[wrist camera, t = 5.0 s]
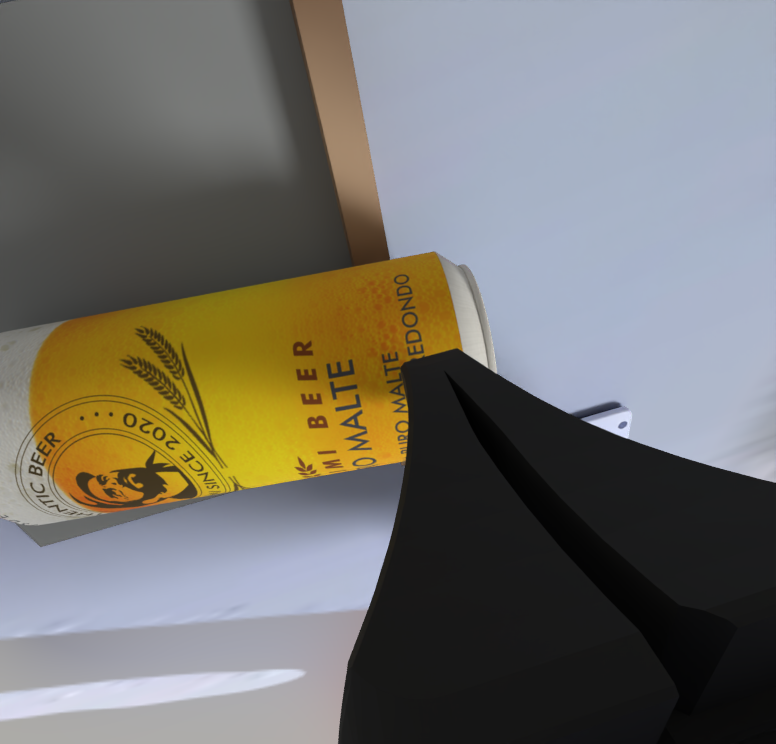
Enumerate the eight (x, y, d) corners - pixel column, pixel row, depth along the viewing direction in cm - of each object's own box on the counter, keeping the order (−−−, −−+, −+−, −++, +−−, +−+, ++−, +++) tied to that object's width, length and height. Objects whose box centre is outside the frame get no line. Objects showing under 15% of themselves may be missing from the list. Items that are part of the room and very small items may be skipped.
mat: (393, 439, 22) (395, 445, 22) (44, 539, 21) (40, 547, 21) (276, -49, 12) (276, -53, 12) (-417, 91, 11) (-439, 92, 11)
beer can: (502, 486, 14) (24, 568, 14) (459, 358, 18) (98, 423, 19) (507, 324, 10) (-159, 446, 10) (450, 213, 14) (-9, 299, 15)
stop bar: (416, 433, 22) (426, 458, 21) (393, 439, 22) (401, 465, 21) (320, -59, 12) (327, -76, 11) (276, -49, 12) (277, -66, 11)
